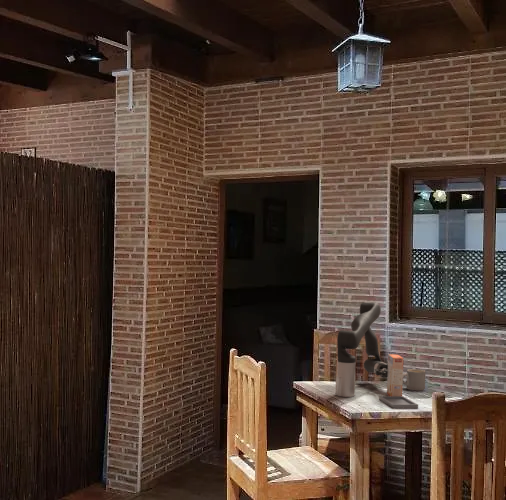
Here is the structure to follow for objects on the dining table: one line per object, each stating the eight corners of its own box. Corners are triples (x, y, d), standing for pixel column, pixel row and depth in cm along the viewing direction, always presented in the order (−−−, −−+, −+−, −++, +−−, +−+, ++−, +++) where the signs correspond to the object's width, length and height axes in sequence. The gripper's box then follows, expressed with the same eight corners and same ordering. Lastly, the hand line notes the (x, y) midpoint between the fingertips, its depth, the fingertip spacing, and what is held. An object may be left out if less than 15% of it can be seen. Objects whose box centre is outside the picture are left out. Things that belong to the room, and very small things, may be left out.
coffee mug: (423, 387, 374) (424, 369, 374) (426, 390, 364) (426, 372, 364) (399, 386, 375) (400, 368, 376) (401, 389, 366) (401, 371, 366)
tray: (392, 408, 316) (392, 404, 316) (379, 399, 336) (379, 396, 336) (418, 408, 318) (418, 404, 318) (403, 399, 337) (403, 396, 337)
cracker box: (402, 399, 339) (404, 358, 340) (390, 398, 339) (392, 357, 340) (398, 393, 353) (399, 354, 354) (386, 393, 353) (387, 353, 354)
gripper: (370, 362, 365) (380, 367, 349) (395, 362, 367) (406, 367, 351) (370, 376, 365) (379, 381, 349) (395, 376, 367) (405, 382, 351)
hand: (393, 374), depth 350 cm, fingers open, 8 cm apart
